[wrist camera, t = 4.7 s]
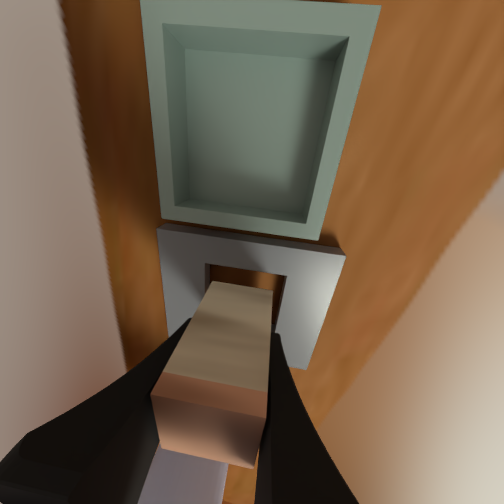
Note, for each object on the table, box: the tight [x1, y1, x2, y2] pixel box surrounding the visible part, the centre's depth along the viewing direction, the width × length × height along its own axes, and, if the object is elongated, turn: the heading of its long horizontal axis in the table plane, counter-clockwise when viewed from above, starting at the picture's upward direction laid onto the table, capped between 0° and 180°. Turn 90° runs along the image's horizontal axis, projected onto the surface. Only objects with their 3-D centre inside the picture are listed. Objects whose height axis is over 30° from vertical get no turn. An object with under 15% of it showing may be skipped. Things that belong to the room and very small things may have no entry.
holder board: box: [156, 223, 346, 370], centre depth 15 cm, size 11×12×1 cm
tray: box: [140, 0, 381, 241], centre depth 10 cm, size 9×9×2 cm
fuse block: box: [150, 281, 273, 469], centre depth 11 cm, size 4×4×7 cm
